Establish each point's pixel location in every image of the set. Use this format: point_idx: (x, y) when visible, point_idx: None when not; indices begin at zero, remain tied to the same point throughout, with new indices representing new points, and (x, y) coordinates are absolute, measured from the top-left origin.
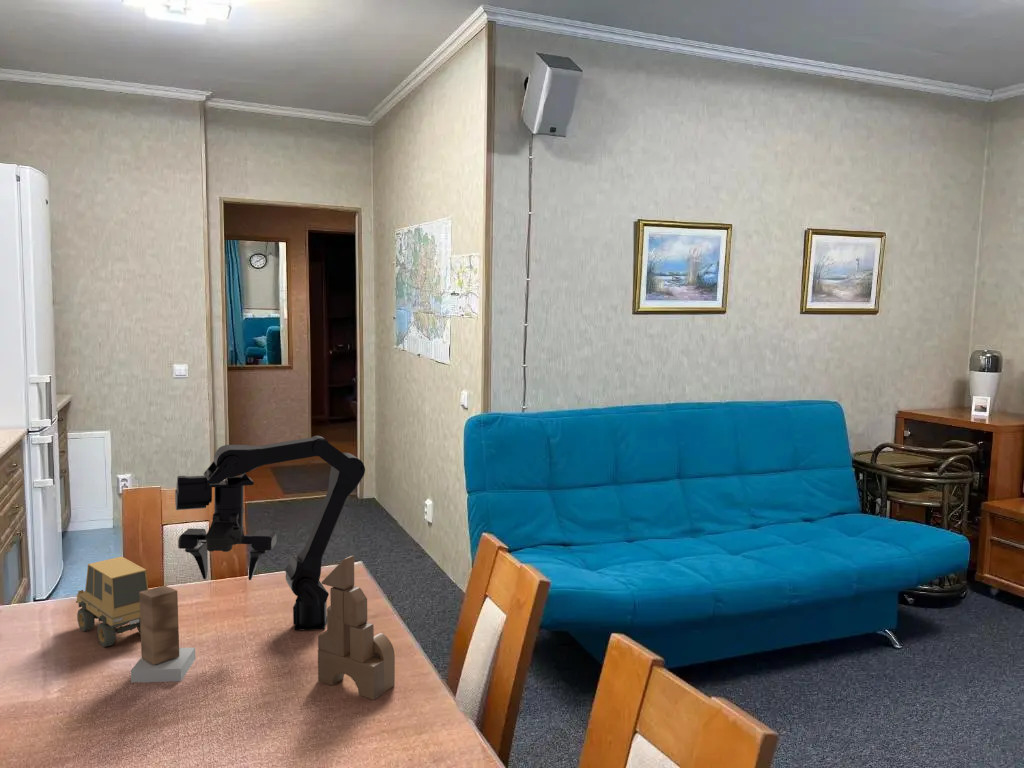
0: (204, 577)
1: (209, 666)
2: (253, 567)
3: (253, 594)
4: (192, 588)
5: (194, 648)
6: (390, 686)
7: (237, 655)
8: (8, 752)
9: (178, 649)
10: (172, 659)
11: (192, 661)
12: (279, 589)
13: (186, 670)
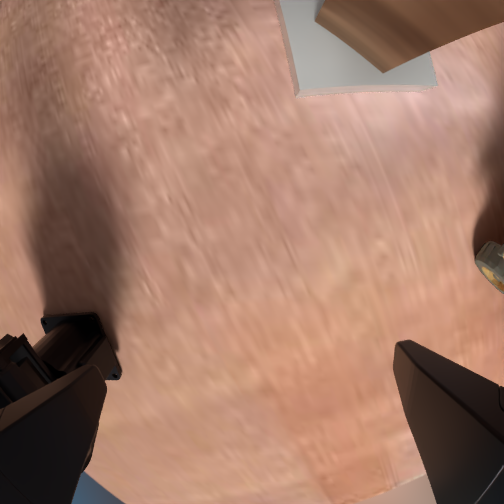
0: (407, 346)
1: (229, 60)
2: (13, 403)
3: (297, 472)
4: None
5: (299, 85)
6: None
7: (176, 138)
8: None
9: (320, 11)
10: None
11: (290, 70)
12: (250, 488)
13: (279, 19)
